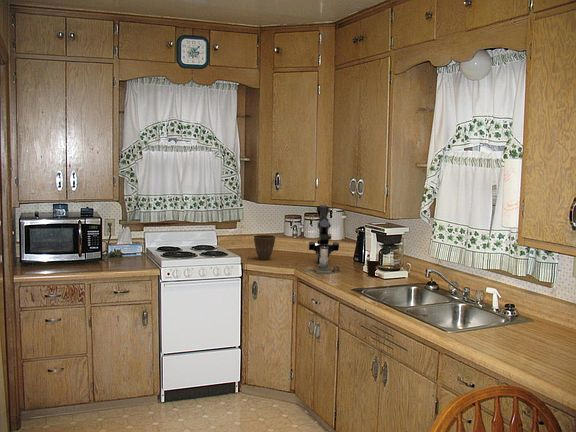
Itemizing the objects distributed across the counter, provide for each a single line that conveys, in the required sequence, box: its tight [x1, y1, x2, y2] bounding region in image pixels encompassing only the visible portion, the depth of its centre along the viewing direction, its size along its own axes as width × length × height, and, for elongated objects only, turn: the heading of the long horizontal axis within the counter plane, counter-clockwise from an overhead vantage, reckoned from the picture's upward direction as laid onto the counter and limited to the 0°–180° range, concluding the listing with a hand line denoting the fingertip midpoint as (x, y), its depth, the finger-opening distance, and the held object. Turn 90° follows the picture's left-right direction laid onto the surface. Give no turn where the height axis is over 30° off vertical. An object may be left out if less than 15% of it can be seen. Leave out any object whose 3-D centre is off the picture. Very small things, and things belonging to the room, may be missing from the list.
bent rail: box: [332, 264, 341, 274], centre depth 376 cm, size 12×4×3 cm, turn 7°
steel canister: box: [318, 246, 329, 269], centre depth 371 cm, size 5×5×13 cm
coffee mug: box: [366, 258, 381, 278], centre depth 363 cm, size 12×9×10 cm
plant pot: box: [253, 234, 276, 261], centre depth 412 cm, size 15×15×16 cm
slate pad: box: [314, 268, 333, 275], centre depth 372 cm, size 9×9×1 cm
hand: (323, 257), depth 370 cm, fingers closed on steel canister, 5 cm apart
